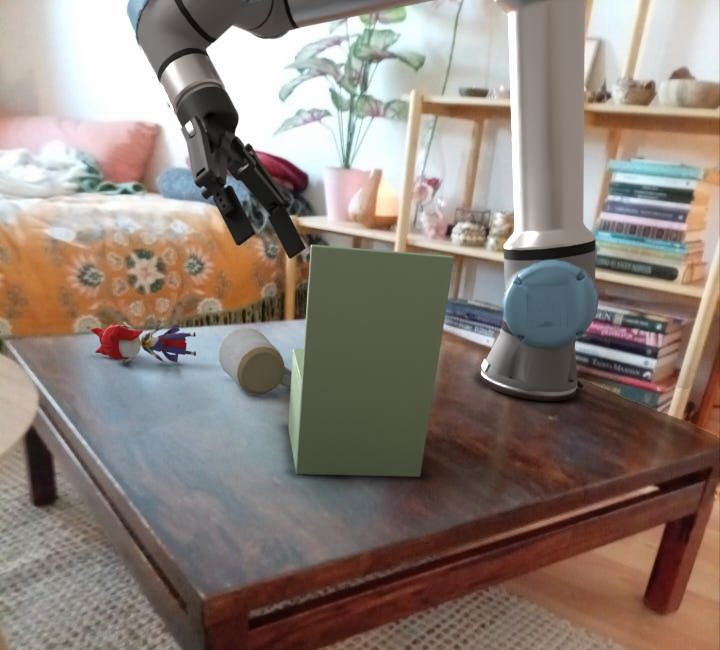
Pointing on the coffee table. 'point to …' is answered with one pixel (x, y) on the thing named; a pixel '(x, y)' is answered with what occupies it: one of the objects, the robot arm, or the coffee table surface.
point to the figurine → (141, 342)
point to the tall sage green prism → (367, 361)
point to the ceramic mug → (253, 361)
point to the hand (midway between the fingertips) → (273, 246)
